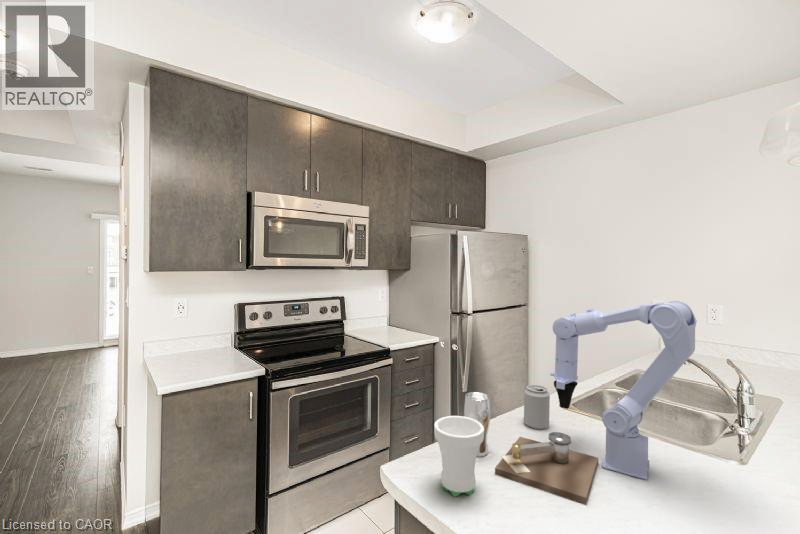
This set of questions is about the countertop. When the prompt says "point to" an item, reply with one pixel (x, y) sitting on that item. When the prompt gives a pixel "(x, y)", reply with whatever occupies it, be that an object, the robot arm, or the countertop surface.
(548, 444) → the grey bar with knobs
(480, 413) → the beer glass
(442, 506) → the countertop surface
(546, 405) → the can
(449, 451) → the cup
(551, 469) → the brown flat wooden board
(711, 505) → the countertop surface
